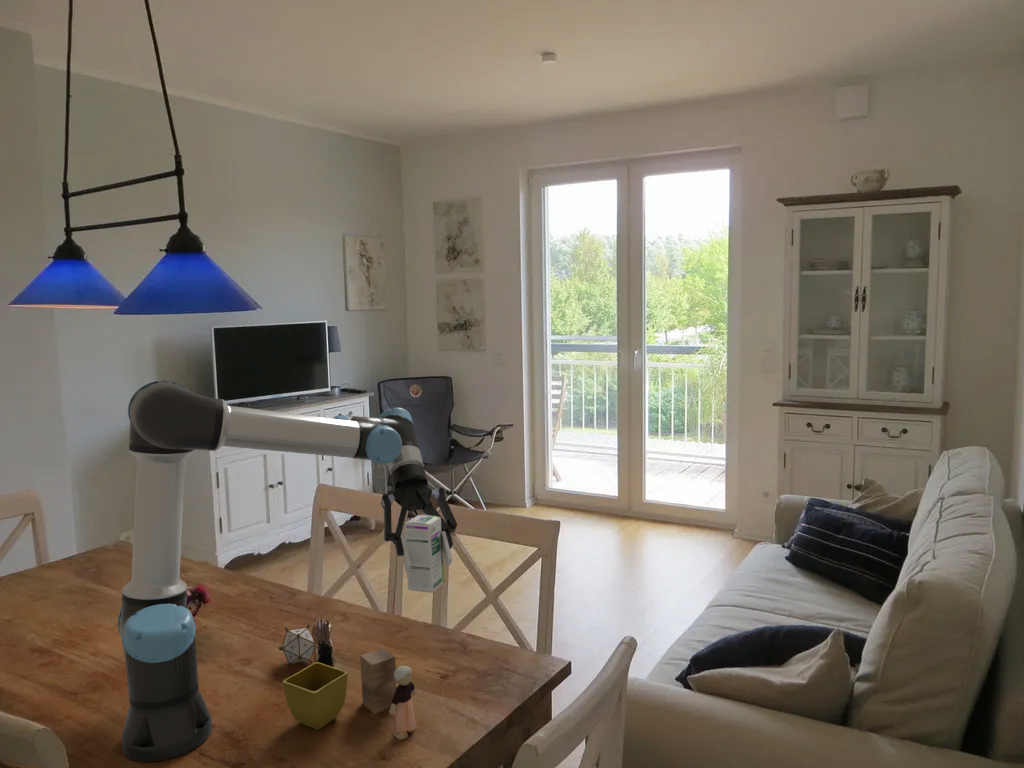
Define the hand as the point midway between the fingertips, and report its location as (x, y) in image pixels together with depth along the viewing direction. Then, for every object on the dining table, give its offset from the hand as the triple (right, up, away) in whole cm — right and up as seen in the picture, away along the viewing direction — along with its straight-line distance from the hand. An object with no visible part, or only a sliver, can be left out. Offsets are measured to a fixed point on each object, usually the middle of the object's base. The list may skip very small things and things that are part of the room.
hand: (429, 565), depth 155 cm
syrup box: (-1, -5, +4) cm, 7 cm away
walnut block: (-9, -26, -4) cm, 28 cm away
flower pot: (-20, -27, -9) cm, 35 cm away
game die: (-30, -25, +14) cm, 42 cm away
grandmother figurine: (-3, -27, -13) cm, 31 cm away
